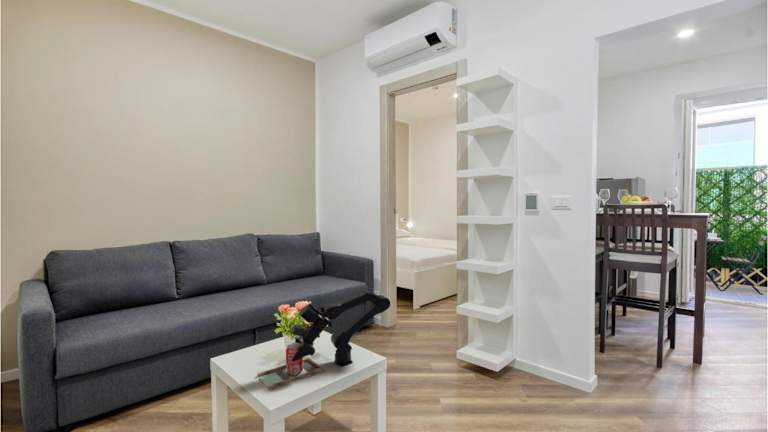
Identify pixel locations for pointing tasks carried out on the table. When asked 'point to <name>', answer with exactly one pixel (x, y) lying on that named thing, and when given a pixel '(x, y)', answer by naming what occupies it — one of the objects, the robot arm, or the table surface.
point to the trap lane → (293, 377)
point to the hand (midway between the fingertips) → (291, 357)
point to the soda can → (295, 366)
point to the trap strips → (285, 377)
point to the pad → (270, 379)
